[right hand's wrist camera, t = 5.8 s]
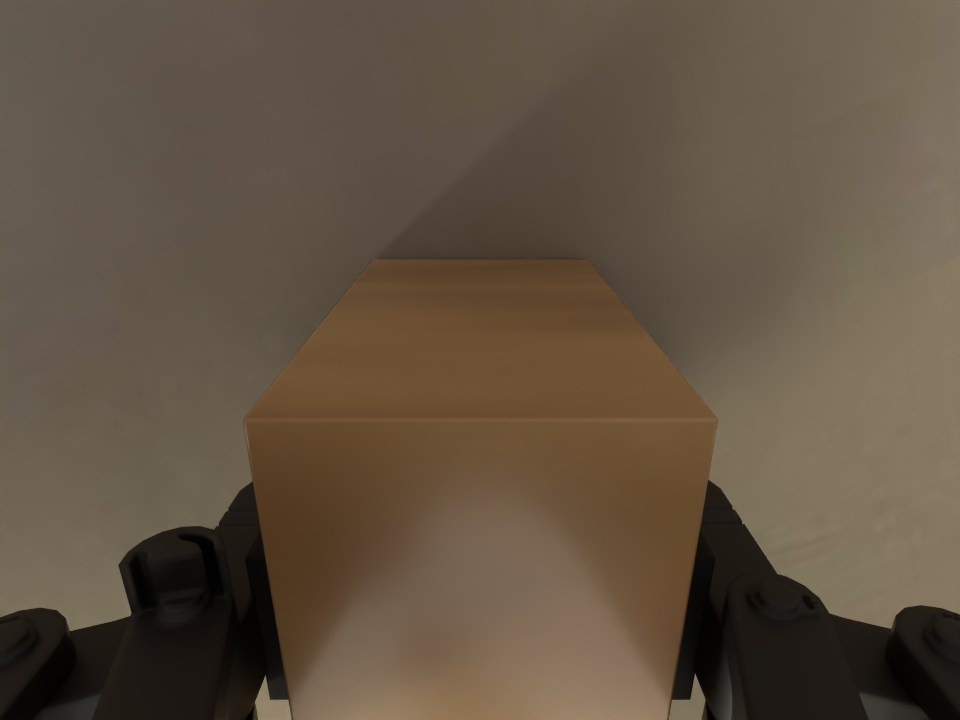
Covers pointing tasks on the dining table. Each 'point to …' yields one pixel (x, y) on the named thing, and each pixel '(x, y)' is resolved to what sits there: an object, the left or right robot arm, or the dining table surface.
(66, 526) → the dining table surface
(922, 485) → the dining table surface
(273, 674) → the right robot arm
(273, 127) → the dining table surface
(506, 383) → the beam
